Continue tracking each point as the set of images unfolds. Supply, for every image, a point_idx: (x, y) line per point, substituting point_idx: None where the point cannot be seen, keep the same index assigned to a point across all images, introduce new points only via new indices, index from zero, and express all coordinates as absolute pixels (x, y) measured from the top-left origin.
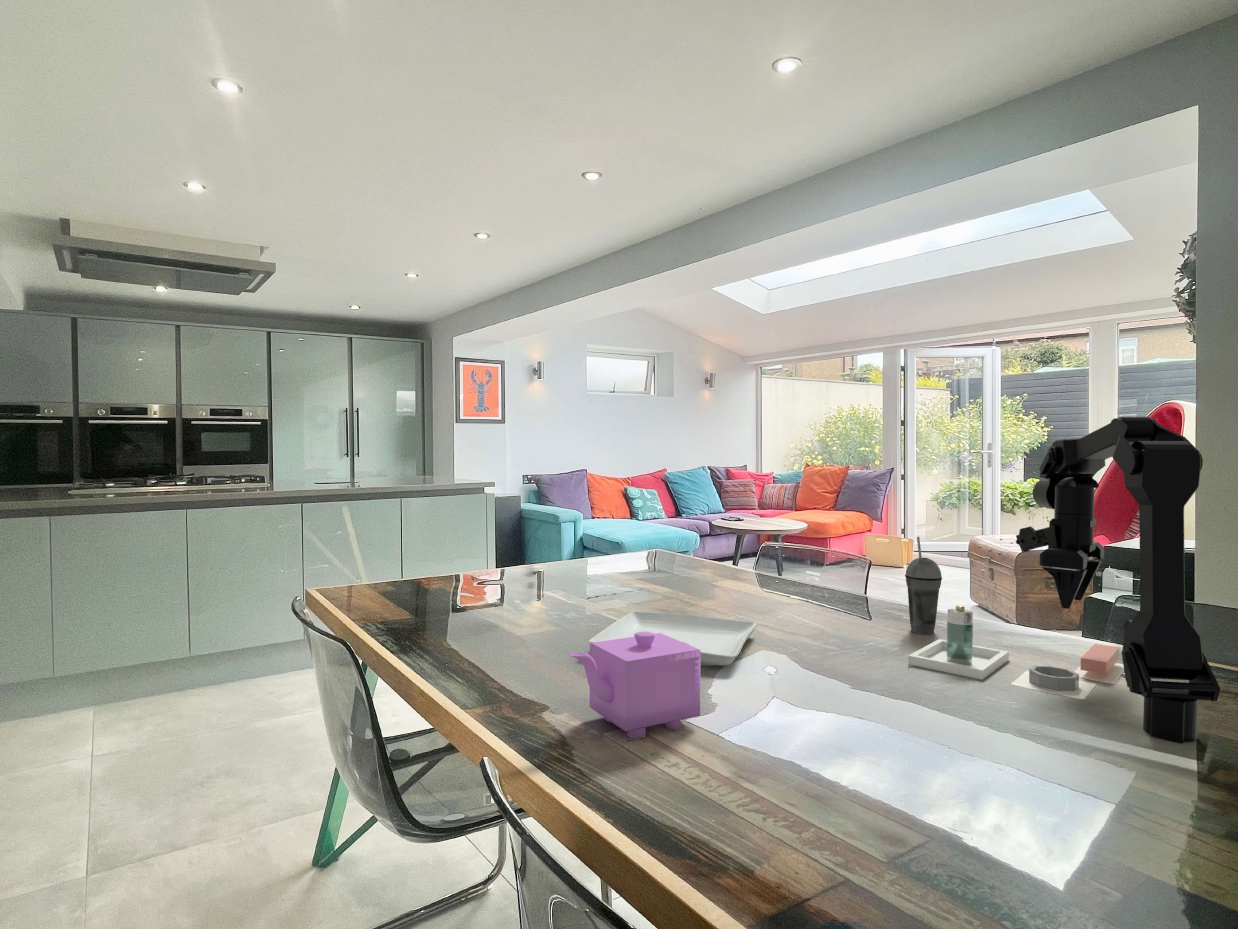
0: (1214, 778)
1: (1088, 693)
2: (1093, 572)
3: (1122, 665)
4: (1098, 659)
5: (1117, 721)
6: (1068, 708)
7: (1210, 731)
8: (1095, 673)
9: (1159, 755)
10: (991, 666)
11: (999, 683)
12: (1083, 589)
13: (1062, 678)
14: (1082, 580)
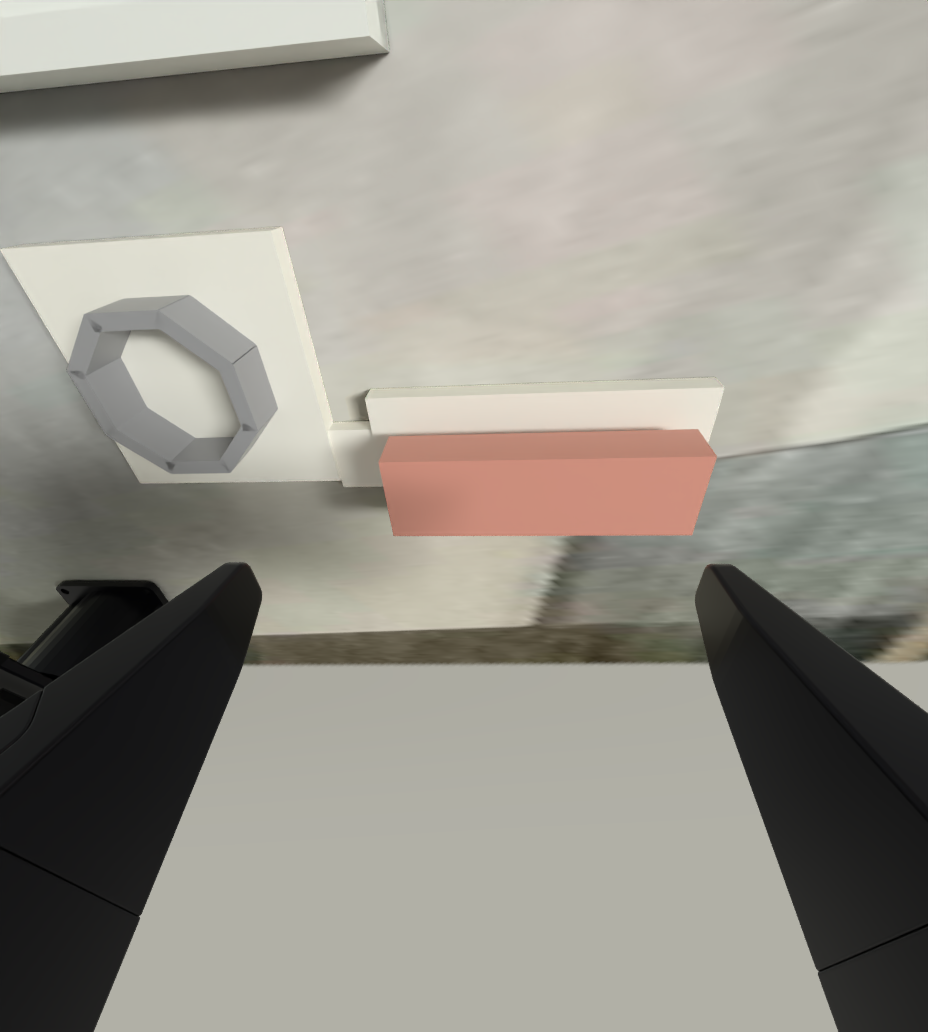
0: None
1: (211, 482)
2: (823, 981)
3: None
4: (413, 511)
5: (135, 542)
6: (91, 447)
7: (268, 649)
8: None
9: (41, 608)
10: (6, 78)
11: (55, 158)
12: (731, 703)
13: (122, 443)
14: (797, 799)
